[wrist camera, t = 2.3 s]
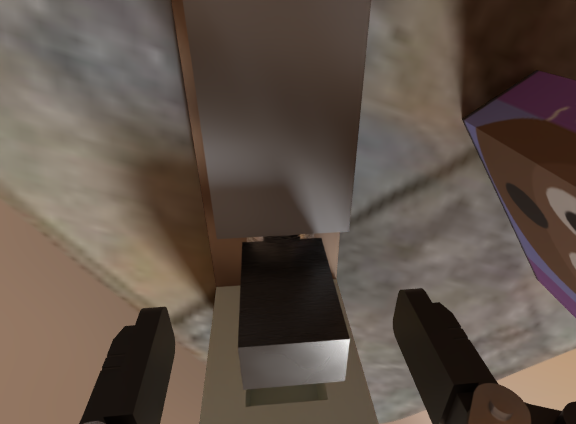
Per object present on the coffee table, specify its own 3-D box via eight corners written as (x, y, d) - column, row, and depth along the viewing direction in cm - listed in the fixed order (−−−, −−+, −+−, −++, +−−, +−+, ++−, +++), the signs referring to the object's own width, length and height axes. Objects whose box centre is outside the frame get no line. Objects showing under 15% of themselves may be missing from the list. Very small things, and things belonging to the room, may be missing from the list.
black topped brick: (220, -62, 11) (174, -142, 5) (318, -63, 12) (407, -139, 5) (252, 299, 20) (251, 453, 13) (309, 295, 20) (337, 445, 13)
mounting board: (166, -57, 16) (66, -116, 8) (357, -57, 17) (470, -113, 8) (226, 334, 31) (215, 473, 22) (329, 327, 31) (359, 458, 22)
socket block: (216, 287, 26) (193, 472, 16) (336, 279, 27) (387, 452, 17) (223, 332, 29) (207, 516, 19) (332, 324, 30) (374, 498, 19)
